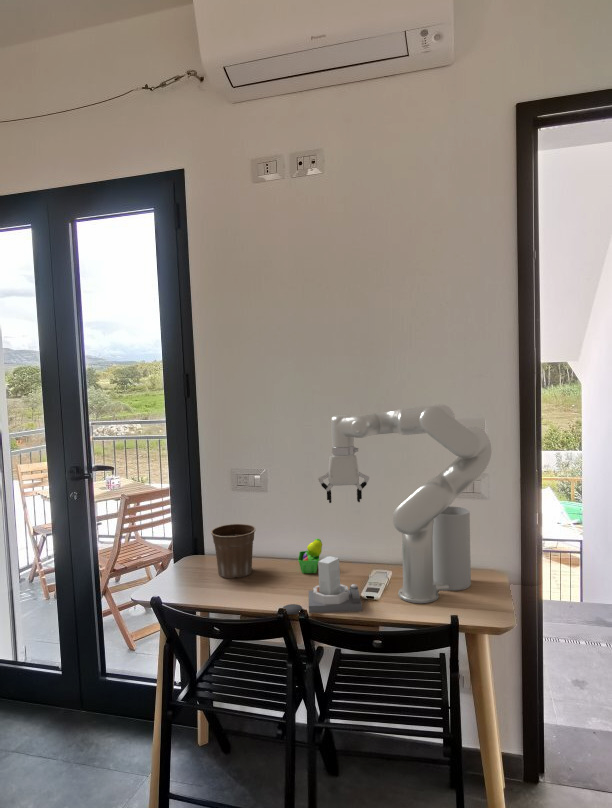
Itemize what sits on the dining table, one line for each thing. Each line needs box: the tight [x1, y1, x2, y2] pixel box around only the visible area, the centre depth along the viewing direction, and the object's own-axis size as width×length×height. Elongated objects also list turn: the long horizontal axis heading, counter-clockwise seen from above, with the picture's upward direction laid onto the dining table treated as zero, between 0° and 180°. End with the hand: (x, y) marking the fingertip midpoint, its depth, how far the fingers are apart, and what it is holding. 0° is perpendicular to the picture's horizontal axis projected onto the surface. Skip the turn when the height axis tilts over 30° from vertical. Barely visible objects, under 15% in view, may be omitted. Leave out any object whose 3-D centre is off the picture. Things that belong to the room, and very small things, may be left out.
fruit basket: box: [297, 538, 323, 574], centre depth 200 cm, size 11×9×11 cm
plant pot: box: [210, 523, 256, 579], centre depth 197 cm, size 16×16×16 cm
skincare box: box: [317, 555, 341, 595], centre depth 167 cm, size 6×4×12 cm
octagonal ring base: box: [308, 583, 363, 613], centre depth 168 cm, size 16×12×4 cm
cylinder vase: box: [433, 505, 472, 591], centre depth 180 cm, size 12×12×25 cm
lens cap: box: [282, 603, 303, 615], centre depth 164 cm, size 6×6×1 cm
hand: (344, 501), depth 183 cm, fingers open, 9 cm apart
